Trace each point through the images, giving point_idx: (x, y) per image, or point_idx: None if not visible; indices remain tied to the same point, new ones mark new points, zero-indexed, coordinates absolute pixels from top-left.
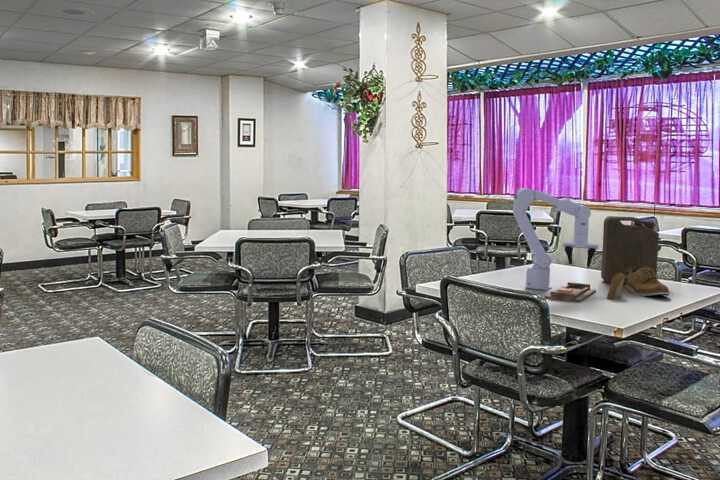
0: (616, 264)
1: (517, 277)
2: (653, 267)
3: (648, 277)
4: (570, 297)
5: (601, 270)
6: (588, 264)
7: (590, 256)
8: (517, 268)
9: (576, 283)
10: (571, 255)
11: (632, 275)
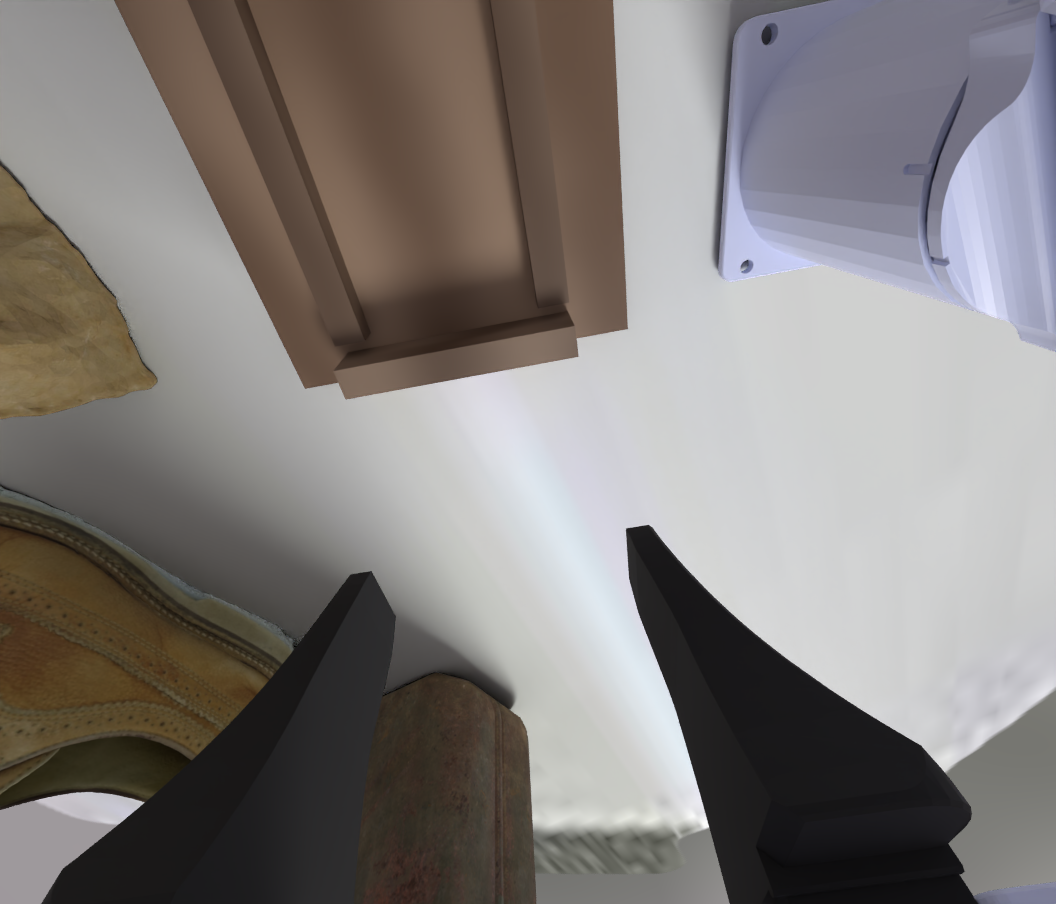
0: (386, 829)
1: (1046, 503)
2: None
3: None
4: None
5: (525, 769)
6: (343, 589)
7: (229, 729)
8: (1012, 704)
9: (474, 343)
10: (680, 699)
11: (143, 706)
